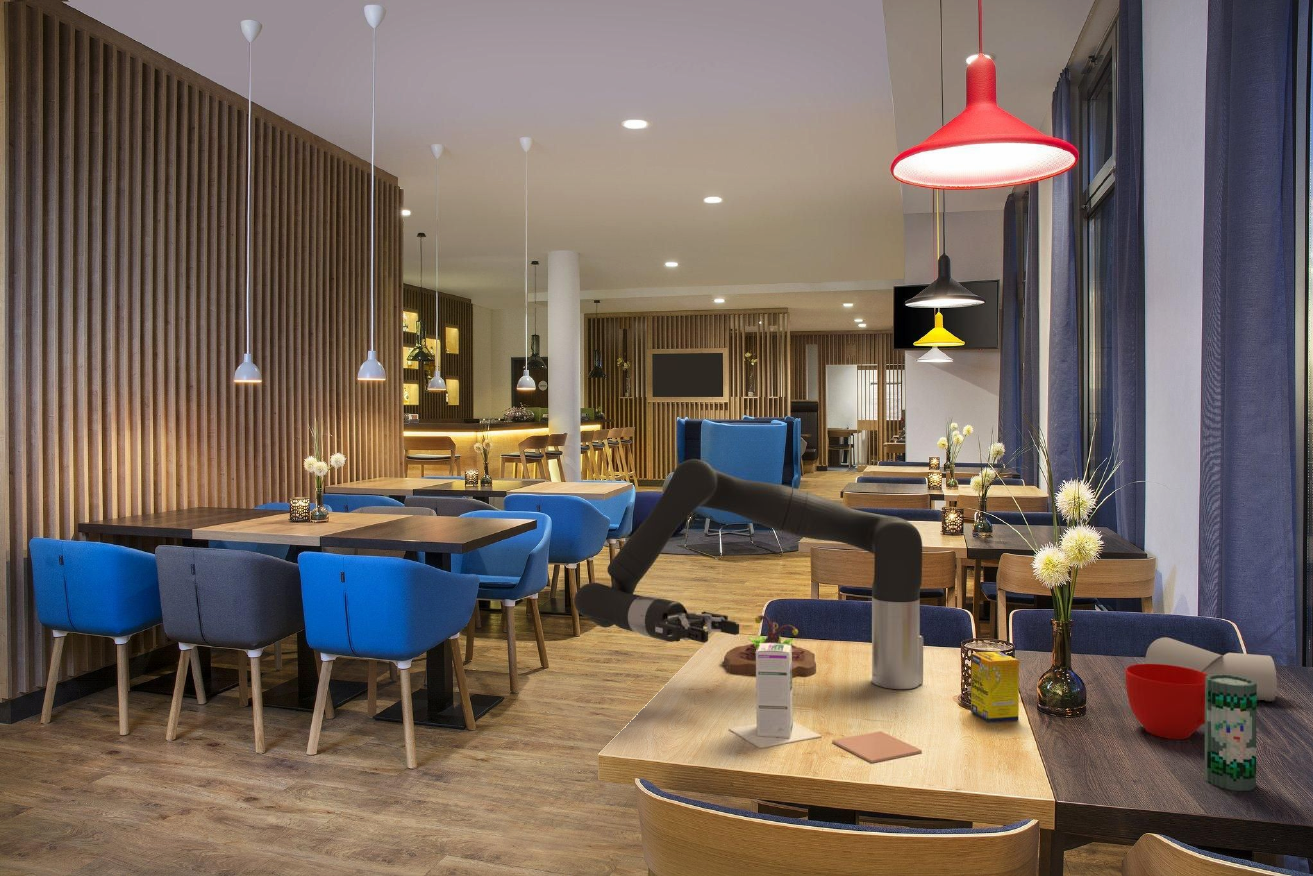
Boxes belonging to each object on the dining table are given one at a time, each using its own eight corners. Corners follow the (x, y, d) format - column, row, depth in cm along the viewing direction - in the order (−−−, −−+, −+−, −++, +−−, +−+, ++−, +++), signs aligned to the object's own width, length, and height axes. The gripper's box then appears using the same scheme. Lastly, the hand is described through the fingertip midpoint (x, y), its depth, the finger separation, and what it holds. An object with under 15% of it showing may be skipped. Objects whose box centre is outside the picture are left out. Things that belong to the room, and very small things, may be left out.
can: (1210, 787, 132) (1210, 683, 131) (1201, 772, 137) (1202, 672, 137) (1259, 793, 130) (1260, 687, 129) (1248, 777, 135) (1249, 676, 135)
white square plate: (787, 719, 162) (787, 718, 162) (821, 737, 153) (821, 735, 153) (728, 729, 157) (728, 728, 157) (760, 748, 148) (760, 746, 148)
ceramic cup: (1205, 759, 143) (1206, 695, 142) (1108, 727, 158) (1108, 669, 157) (1254, 745, 149) (1255, 684, 148) (1155, 715, 164) (1156, 660, 163)
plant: (727, 653, 209) (727, 604, 209) (814, 656, 207) (814, 607, 206) (721, 678, 190) (721, 624, 189) (817, 681, 187) (817, 626, 187)
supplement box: (970, 712, 166) (970, 652, 165) (1000, 710, 167) (1000, 650, 167) (988, 723, 160) (988, 661, 160) (1019, 720, 161) (1019, 659, 161)
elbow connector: (1155, 692, 174) (1279, 703, 167) (1154, 635, 176) (1276, 644, 169) (1143, 687, 190) (1255, 698, 183) (1142, 636, 192) (1253, 644, 185)
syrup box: (791, 738, 151) (791, 651, 151) (755, 736, 153) (755, 649, 152) (793, 727, 157) (793, 643, 157) (758, 725, 158) (758, 641, 158)
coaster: (880, 733, 155) (880, 731, 155) (921, 752, 146) (921, 750, 146) (832, 742, 150) (832, 740, 150) (871, 763, 141) (871, 760, 141)
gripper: (630, 603, 168) (696, 617, 157) (683, 593, 179) (748, 606, 167) (630, 644, 169) (695, 661, 157) (682, 631, 179) (747, 647, 167)
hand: (722, 632), depth 162 cm, fingers open, 8 cm apart
